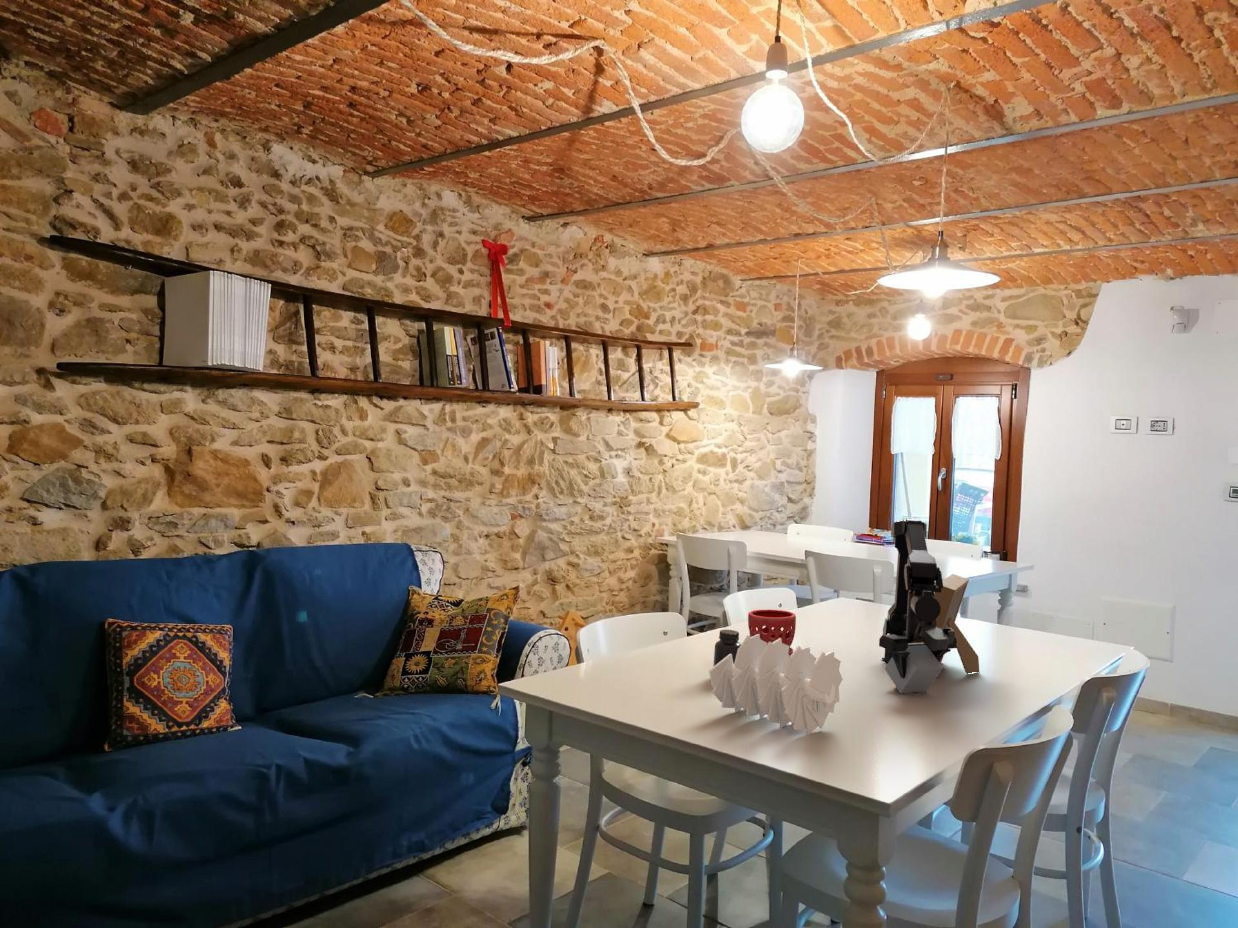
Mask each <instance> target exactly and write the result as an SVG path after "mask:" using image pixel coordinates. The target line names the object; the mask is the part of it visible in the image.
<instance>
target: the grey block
mask: <svg viewBox="0 0 1238 928" xmlns="http://www.w3.org/2000/svg"><path fill="white" fill-rule="evenodd" d="M906 651H908V652H910V654H909V655H908V656H907V659H906V674H905V678H904V679H903V678H901V677H900V675H899V672H898V670H897V667H896V665H895V662H894V660H893V658H891V659H890V661H889V662H887V664H886V666H885V668H884V670H885V672H886V673H887V675H888V676H889V677H890V680H891V681H892V683H893V684H894V686H895V688H897V690H898V692H899V693H900V694H914V693H913V692H925V693H927V692H928V690H929V689H930V688H931V687H932V685H933V683H934V682H935V680H936V679H937V678H938V677H939V675H940V673H941V672H942V670H943V669H944V668H943V665H941V664H942V663H941V664H940V663H939V662H938V660H937V659H936V657H935V656H934V654H933V653H932V652H931V650H930V649H929V648H928V647H927V646H926V645H918V646H908V648H907V649H906Z"/></svg>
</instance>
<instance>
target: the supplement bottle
mask: <svg viewBox="0 0 1238 928" xmlns="http://www.w3.org/2000/svg"><path fill="white" fill-rule="evenodd" d="M718 634H719V636H718V639H719V640H718V641H716V642H715V644H714V651H713V666H712V668H713V667H714V666H715V665H716V664H718V663H719V662H720V661H721V660H723V659H724V658H725V657H726V656H728V655H729V654H732V658H733V663H735V659H736V654H737V650H738V648H739V647H740V646H741V644H742V643H740V642H739V641H740V637H739V636H740V632H739V631H738V630H734V629H721V630H720V631H719V633H718Z"/></svg>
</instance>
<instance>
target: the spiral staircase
mask: <svg viewBox="0 0 1238 928" xmlns="http://www.w3.org/2000/svg"><path fill="white" fill-rule="evenodd" d="M740 644H741V646H740V647H739V648H738V650H737V654H736V659H735V663H733V658H732V654H729V655H728V656H726V657H725V658H724V659H723V660H721V661H720V662H719V663H718V664H716V665H715V666H714V665H713V666H714V667H713V666H712V667H711V668H710V669H709V670H708V672H709V678H710V683H711V687H712V688H713V689H712V691H711V692H712V694H713V695H714V696H715V698H716V699H717V700H718V701H719V702H720V703H721V708H725V709H734V712H735V713H738V712H740V710H741V709H743V710H744V711H745V716H748V717H749V716H759V719H763V718H764V717H765V716H766V717H767V718H766V721H768V722H772V723H775V724H779V728H780V727H781V729H782V728H784V727H785V726H787V724H789V723H791V724H792V725H793V730H794V731H806V735H807V736H810V735H811V734H812V733H813V732H814V731H815V730H816V729H817V728H818V727H819V729H823V728H824V725H825V722H826V720H827V718H828V715H829V713H832V714H834V711H835V705H836V704H837V703H838V702H840V688H839V687H840V685H841V683H842V682H843V677H842V674H841V672H840V667H841V666H840V665H841V662H842V661H841V660H839V659H838V658H837V657H835V652H834V651H833V650H832V651H829V652H826V653H825V652H821V653H820V655H819V657H818V659H817V657H816V656H814V655H813V654H812V653H811V646H806V647H803V648H801V646H799V645H797V647H796V648H795V650H793V653H792V655H791V656H789V654H788V651H789V646H788V645H785V644H783V643H782V639H781V638H779V639H778V640H776V641H774V642H773V643H771V642H769V643H768V645H767V643H766V642H764V641H763V640H761V639H760V634H757V635H754V636H752V637H750V635H746V636H745V638H744V640H743V642H741V643H740Z"/></svg>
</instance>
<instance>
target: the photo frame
mask: <svg viewBox="0 0 1238 928" xmlns="http://www.w3.org/2000/svg"><path fill="white" fill-rule="evenodd" d="M942 581H943V588H942V589H941V593H940V592H934V598H935V599H936V600H937V601H938V602H939V604H940V607H941V611H940V614H939V616H938V617H937V618H936V622H937V623H936V625H937V627H938V628H939V629H941V628H942V629H944V628H952V629H953V630H954V631H955V638H956V639H957V648H956V650H957V653H958V656H959V658H960V659H959V660H960V661H961V663H962V667H963V669H964V671H965V674H966V673H967V674H968V673H972V672H979V673H980V662H979V659H980V658H979V655H978V654H977V653H976V651H975V650H974V648H973V647H972V645H971V644H970V642H969V640H967V638H966V636H965V635H964V633H962V631H961V630H960V628H959V627H958V625H957V624H956V619H957V617H958V614H959V611H960V608H961V605H962V601H963V599H964V596H965V593H966V590H967V586H968V584H969V578H965V577H962V576H960V575H957V574H954V573H952V574H950V575H949V576H947V577H946V578H945V579H942ZM936 588H937V587H936ZM921 642H922V641H921ZM944 656H945V654H944V655H943V656H942V657H941V659H940V661H939V663H941V664H942V662H943V660H944Z"/></svg>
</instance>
